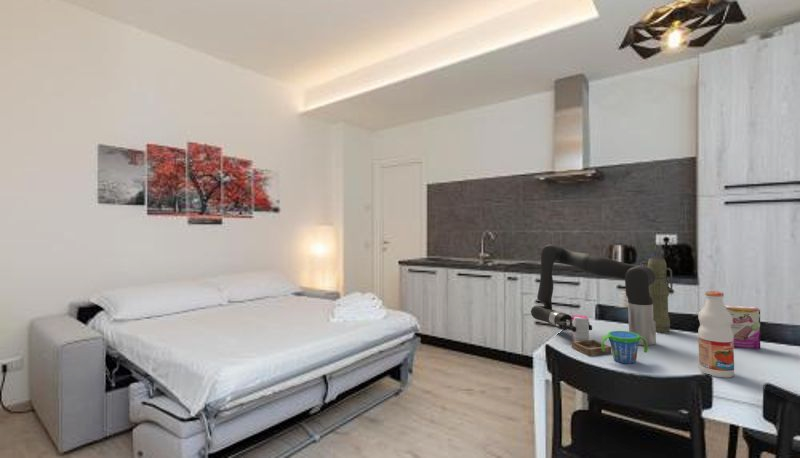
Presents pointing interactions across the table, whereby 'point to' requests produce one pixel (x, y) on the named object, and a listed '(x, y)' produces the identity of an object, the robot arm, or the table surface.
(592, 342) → the wooden square frame
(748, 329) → the candy bar box
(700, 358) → the fruit juice
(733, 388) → the table surface
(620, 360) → the snack cup
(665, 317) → the thermos
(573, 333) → the supplement box
